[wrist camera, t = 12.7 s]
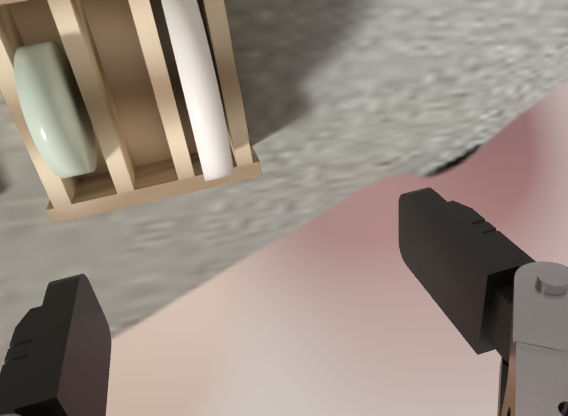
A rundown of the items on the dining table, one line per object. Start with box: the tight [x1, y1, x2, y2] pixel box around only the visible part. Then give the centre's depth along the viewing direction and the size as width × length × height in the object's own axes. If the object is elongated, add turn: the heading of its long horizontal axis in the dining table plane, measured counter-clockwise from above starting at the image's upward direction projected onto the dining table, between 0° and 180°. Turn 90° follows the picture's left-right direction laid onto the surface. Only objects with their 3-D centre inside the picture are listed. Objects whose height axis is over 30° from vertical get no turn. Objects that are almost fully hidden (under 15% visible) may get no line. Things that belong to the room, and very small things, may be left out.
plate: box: [161, 0, 233, 181], centre depth 25 cm, size 2×10×10 cm, turn 8°
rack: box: [0, 0, 262, 224], centre depth 28 cm, size 13×13×5 cm
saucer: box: [14, 41, 97, 178], centre depth 25 cm, size 2×7×7 cm, turn 8°
